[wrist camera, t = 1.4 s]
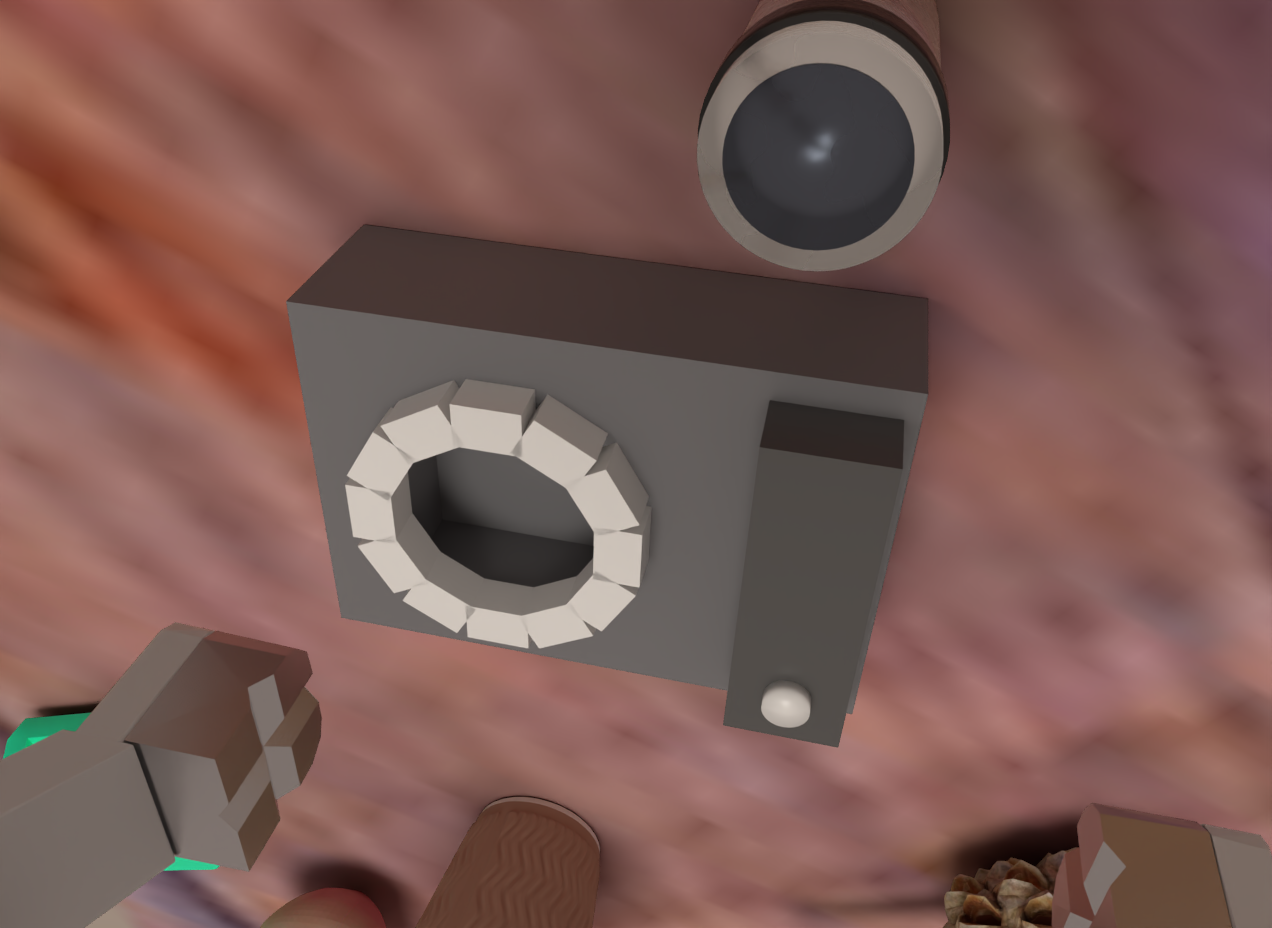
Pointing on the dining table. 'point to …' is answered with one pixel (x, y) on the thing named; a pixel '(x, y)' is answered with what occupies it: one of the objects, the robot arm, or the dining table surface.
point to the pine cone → (1005, 895)
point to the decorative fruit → (328, 911)
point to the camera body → (614, 461)
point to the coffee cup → (520, 871)
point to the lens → (826, 130)
